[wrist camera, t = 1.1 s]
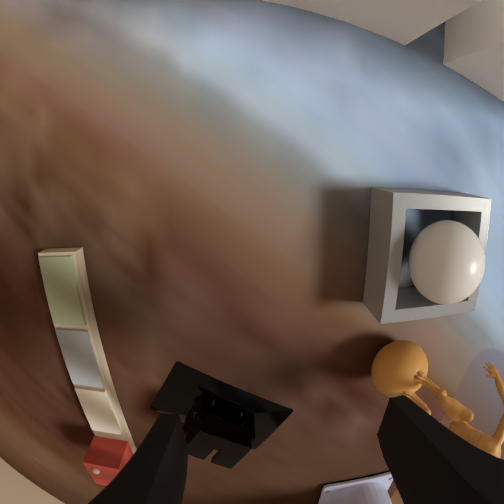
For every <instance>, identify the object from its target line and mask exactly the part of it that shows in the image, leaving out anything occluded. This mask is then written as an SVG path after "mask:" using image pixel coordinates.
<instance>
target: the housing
mask: <svg viewBox="0 0 504 504" xmlns="http://www.w3.org/2000/svg"><path fill="white" fill-rule="evenodd" d="M406 209H433V210H454V211H453V221H457V222H460V223H462V224H464V225H466V226H467V227H468V228H470V229H471V230H472V231H473V232H474V233H475V234H476V235H477V237H478V238H479V240H480V242H481V244H482V247H483V250H484V255H485V252H486V245H487V237H488V229H489V220H490V209H491V199H489V198H484V197H480V196H475V195H471V194H466V193H458V192H445V191H431V190H416V189H397V188H374V187H371V200H370V223H369V240H368V254H367V266H366V277H365V287H364V296H363V303H364V305H365V306H366V307H367V308H368V309H369V311H370V312H371V313H372V314H373V316H374V317H375V318H376V319H377V320H378V322H379V323H380V324H385V323H394V322H402V321H410V320H418V319H425V318H432V317H439V316H446V315H452V314H459V313H465V312H471V311H474V309H475V304H476V300H477V295H478V291H479V286H480V284H479V285H478V287H477V288H476V290H475V291H474V292H473V293H472V294H471V295H470V296H469V297H467V298H466V299H464V300H462V301H460V302H457V303H454V304H438V303H435V302H433V301H430V300H429V299H427V298H425V297H424V296H423V295H422V294H421V293H420V292H419V291H418V290H417V288H416V287H408V288H398V286H399V279H400V271H401V263H402V253H403V243H404V232H405V218H406Z"/></svg>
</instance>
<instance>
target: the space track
mask: <svg viewBox="0 0 504 504" xmlns="http://www.w3.org/2000/svg"><path fill="white" fill-rule="evenodd" d="M38 255H39V257H38V258H39V263H40V268H41V274H42V278H43V283H44V288H45V292H46V297H47V301H48V305H49V309H50V313H51V317H52V320H53V324H54V326H55V331H56V335H57V338H58V341H59V345H60V348H61V351H62V354H63V357H64V360H65V363H66V366H67V369H68V372H69V375H70V377H71V380H72V383H73V384H74V387H75V391H76V393H77V396H78V398H79V401H80V403H81V406H82V408H83V410H84V413H85V415H86V417H87V420H88V422H89V424H90V426H91V429H92V430H93V432H94V434H95V436H94V437H93V440H92V442H91V444H90V446H89V449H88V451H87V453H86V455H85V458H84V460H83V464H84V465H85V467H86V469H87V470H88V472H89V474H90V475H91V477H92V478H93V480H94V481H95V483H96V484H100V485H105V486H107V485H108V484H109V483H110V482H111V481H112V480H113V479H114V478H115V477H116V475H117V474H118V473H119V472H120V471H121V469H122V468H123V467H124V466H125V465H126V463H127V462H128V461H129V460H130V458H131V457H132V456H133V454H134V453H135V451H136V450H137V449H136V447H135V444H134V442H133V439H132V437H131V434H130V432H129V429H128V426H127V424H126V421H125V418H124V415H123V412H122V410H121V407H120V404H119V401H118V398H117V395H116V392H115V388H114V385H113V382H112V379H111V375H110V372H109V369H108V365H107V362H106V358H105V354H104V351H103V347H102V343H101V339H100V335H99V331H98V327H97V322H96V318H95V313H94V309H93V304H92V299H91V294H90V289H89V284H88V278H87V272H86V266H85V260H84V253H83V247H81V248H56V249H45V250H43V251H41V252H39V253H38Z"/></svg>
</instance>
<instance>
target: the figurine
mask: <svg viewBox="0 0 504 504" xmlns="http://www.w3.org/2000/svg"><path fill="white" fill-rule="evenodd" d="M486 365H487V366H488V367H489V369H488V368H486V367H484V368H485V369H486V370H487V371H488V372H489V373H490V375H486V376H488V377H491V378H494V379H495V383H496V387H497V390H498V393H499V395H500V397H501V399H502V402H503V405H504V384H503V382H502V381H501V378H500V376H499V373H498V372H497V370H496V369H495V368H494V367H493V366H492V365H491V364H490V363H489V365H488V364H486ZM427 372H428V362H427V358H426V355H425V353H424V352H423V350H422V349H421V348H420V347H419V346H418V345H416V344H415V343H413V342H410V341H406V340H399V341H394V342H391V343H389V344H387V345H385V346H384V347H383V348H382V349H381V350H380V351H379V352H378V353H377V355H376V356H375V358H374V360H373V363H372V369H371V374H372V380H373V382H374V385H375V386H376V388H377V389H378V390H379V391H380V392H381V393H382V394H384V395H386V396H388V397H397V396H401V395H405V396H407V397H408V398H409V399H411V400H412V401H413V402H414V403H416V404H417V405H418V406H419V407H421V408H422V409H423V410H424V411H426V412H427V413H428V414H430V415H431V411H430V409H428V407H427V405H426V404H425V403H424V402H423V401H422V400H421V399H420V398H419V397H418V396H416V395H415V393H414V392H416V391H417V390H418V389H419V388H420V387H421V386H422V384H423V385H424V386H426V387H427V388H429V389H430V390H431V391H433V392H434V393H436V398H437V399H438V401H439V404H440V406H441V407H442V409H443V412H444V415H445V416H446V418H448V419H449V420H451V421H454V422H452V423H450V426H449V428H448V429H449V430H451V431H452V432H453V433H455V434H456V435H458V436H459V437H461V438H462V439H464V440H466V441H467V442H469V443H470V444H472V445H474V446H475V447H477V448H479V449H481V450H483V451H485V452H487V453H489V454H491V455H493V456H495V457H498V458H500V456H501V448H500V447H501V445H502V443H503V441H504V414H503V416H502V418H501V420H500V423H499V425H498V427H497V429H496V432H495V433H494V435H492V436H489V435H487V434H485V433H482V432H480V431H479V430H477V429H474V428H473V427H471V426H470V425H468V423H467V422H470V421H472V419H473V417H474V415H473V412H472V411H470V410H469V409H468V408H465V407H464V406H462V405H461V404H460V403H459V402H458V401H457V400H455V399H453V398H451V397H448V396H447V393H446V391H445V390H444V389H440V388H439V387H438V386H437V385H436V384H435V383H433V382H432V381H431V380H430V379H428V378H427V377H426V376H427ZM437 421H438V422H440V423H441V424H442V425H444V426H445V424H444V423H443V422H442V421H440V420H437ZM445 427H446V426H445ZM446 428H447V427H446Z"/></svg>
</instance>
